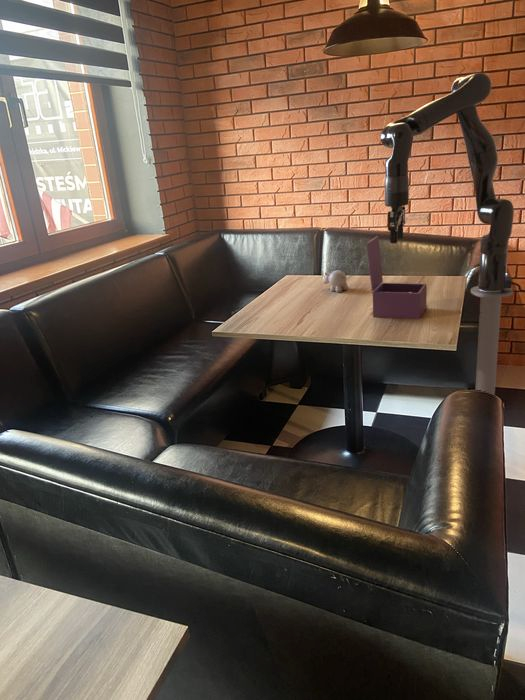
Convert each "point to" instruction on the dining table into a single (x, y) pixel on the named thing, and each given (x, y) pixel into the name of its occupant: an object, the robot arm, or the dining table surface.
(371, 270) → the lid
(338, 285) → the chubby cartoon animal
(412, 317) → the box
